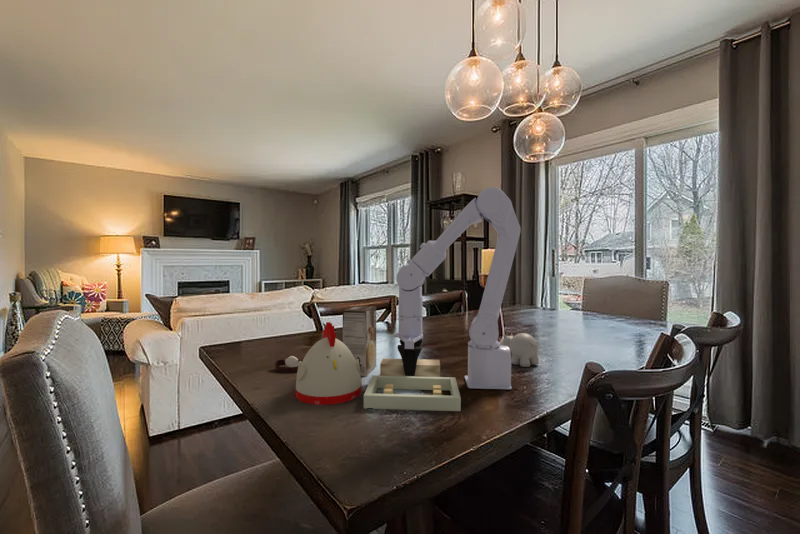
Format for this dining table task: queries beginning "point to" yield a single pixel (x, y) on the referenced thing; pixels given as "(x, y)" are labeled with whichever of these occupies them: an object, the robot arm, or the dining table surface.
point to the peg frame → (409, 400)
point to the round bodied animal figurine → (522, 349)
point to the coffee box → (361, 335)
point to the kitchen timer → (328, 372)
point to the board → (422, 368)
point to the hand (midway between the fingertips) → (410, 372)
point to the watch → (290, 362)
